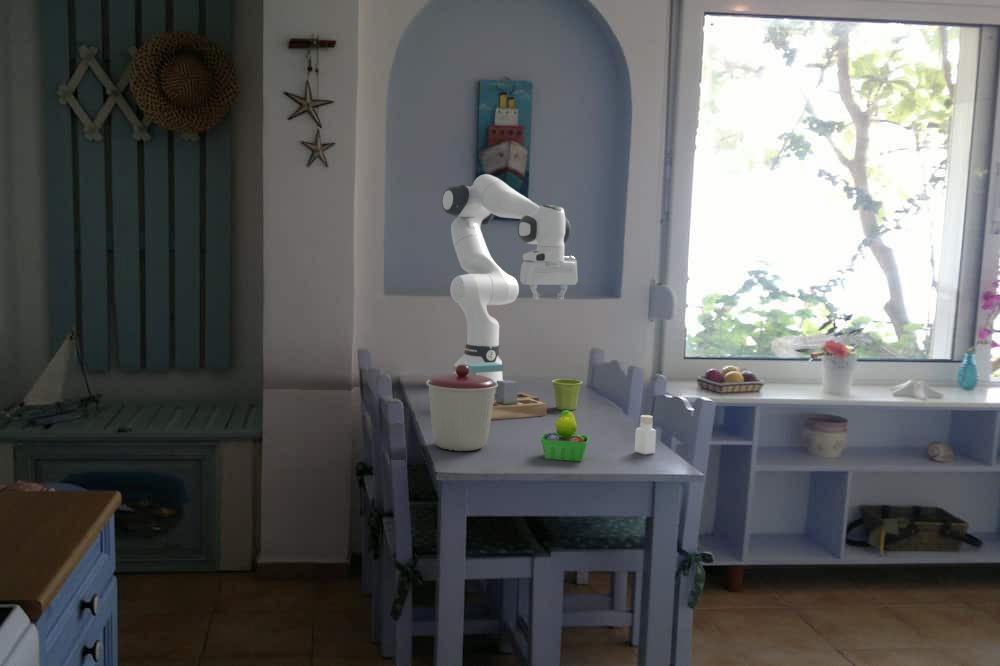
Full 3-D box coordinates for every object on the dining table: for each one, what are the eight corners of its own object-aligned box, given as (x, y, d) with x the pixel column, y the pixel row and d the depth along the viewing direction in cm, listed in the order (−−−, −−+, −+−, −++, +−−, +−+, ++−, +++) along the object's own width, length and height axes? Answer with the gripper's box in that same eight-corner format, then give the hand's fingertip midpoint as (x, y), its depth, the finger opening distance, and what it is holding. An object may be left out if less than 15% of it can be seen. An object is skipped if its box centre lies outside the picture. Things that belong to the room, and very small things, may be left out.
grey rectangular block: (495, 413, 293) (496, 380, 292) (508, 412, 295) (509, 380, 294) (503, 416, 289) (504, 383, 288) (516, 415, 292) (517, 382, 290)
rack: (465, 414, 291) (466, 402, 291) (528, 409, 302) (528, 398, 302) (482, 420, 282) (482, 408, 282) (546, 415, 294) (546, 403, 293)
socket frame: (521, 401, 315) (521, 392, 315) (538, 407, 306) (538, 397, 306) (447, 406, 301) (447, 397, 301) (462, 412, 293) (462, 402, 292)
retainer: (491, 400, 307) (493, 362, 306) (503, 404, 301) (504, 365, 300) (454, 403, 301) (456, 363, 299) (465, 407, 295) (467, 367, 293)
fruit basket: (539, 459, 238) (541, 413, 237) (544, 451, 247) (545, 407, 246) (585, 463, 236) (588, 417, 235) (589, 455, 245) (591, 410, 244)
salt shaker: (644, 450, 252) (646, 414, 251) (655, 453, 249) (658, 416, 248) (633, 452, 250) (635, 415, 249) (644, 455, 247) (646, 418, 246)
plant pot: (565, 412, 299) (566, 384, 298) (544, 407, 306) (545, 380, 305) (587, 409, 305) (588, 382, 304) (566, 404, 312) (567, 378, 311)
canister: (510, 449, 248) (513, 366, 245) (456, 459, 235) (459, 372, 233) (463, 436, 261) (466, 357, 258) (409, 444, 248) (411, 362, 246)
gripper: (571, 255, 321) (569, 297, 322) (518, 254, 310) (516, 298, 312) (582, 256, 316) (580, 299, 317) (529, 255, 305) (527, 299, 307)
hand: (548, 298), depth 314 cm, fingers open, 8 cm apart
